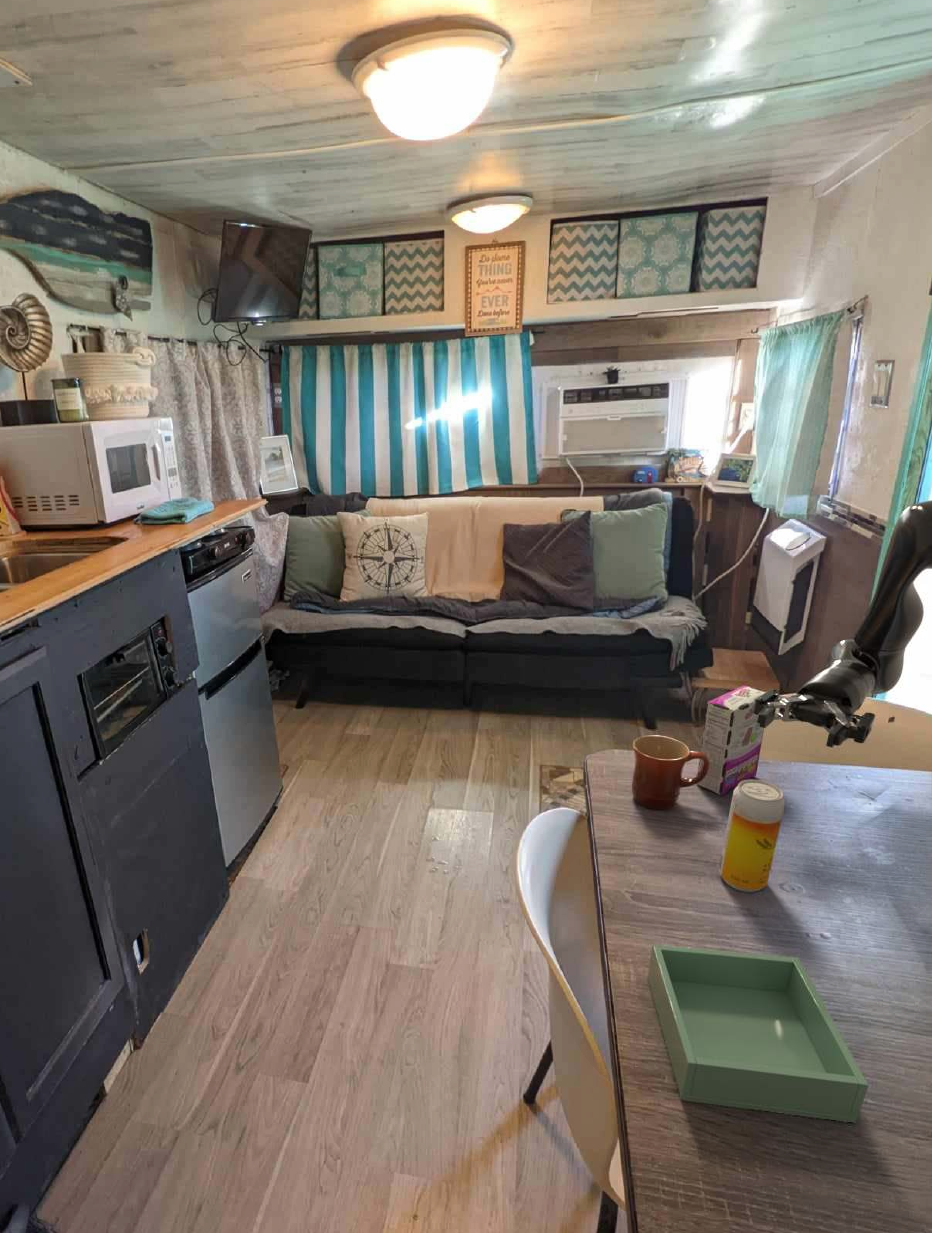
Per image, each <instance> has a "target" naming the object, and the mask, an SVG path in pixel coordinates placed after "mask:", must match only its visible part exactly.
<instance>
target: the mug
mask: <svg viewBox="0 0 932 1233" xmlns="http://www.w3.org/2000/svg"><path fill="white" fill-rule="evenodd" d="M632 749H633V753H634V768H633V772H632V773H633V774H632V781H631V792H632V797H633V799H634V800H635V801H636V802H637V803H638V804H640V805H641V806H644V807H646V808H649V809H652V810H653V809H654V810H666V809H669V808H672V807H674V806H675V805H676V804H677V802H678V800H679V796H680V794H681V789H682V788H689V787H692V786H695V785H697V783H699V782H701V781H702V780H703V779H704V777H705V776H706V774H707V772H708V769H709V760H708V758H707V756H706V755H705V754H703V753H701V751H693V750H691V749H690V747H689V746H688V745H687V744H685V743H684V742H683V741H680V740H678V739H676V738H673V737H668V736H664V735H654V734H653V735H652V734H651V735H643V736H639V737H637V738H635V739H634V740H633V742H632ZM695 759H696V760H697V759H698V760H700V759H702V760H703V763H702V767H701V769H700V771H699V773H698V772H697V774H696V775H694V776H692V777H686V778H685V777H682V775H683V771H684V767H685V765H686V764H687V763H688V762H690V761H692V760H695Z"/></svg>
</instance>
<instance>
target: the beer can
mask: <svg viewBox="0 0 932 1233" xmlns="http://www.w3.org/2000/svg"><path fill="white" fill-rule="evenodd" d="M732 792H733V793H732V798H731V803H730V808H729V814H728V819H727V825H726V829H725V835H724V840H723V846H722V850H721V854H720V855H721V856H720V861H719V866H718V872H719V873H718V874H719V875H720V876H721V878H722V880H723V881H724V882H725V883H726V884H727V885H728V886H729V887H731V888H733V889H736V890H738V891H741V892H747V893H755V892H758V891H760V890H762V889H764V888H765V887H767V885H768V882H769V878H770V873H771V869H772V865H773V860H774V856H775V851H776V846H777V842H778V838H779V833H780V828H781V824H782V819H783V815H784V810H785V806H786V800H785V797H784V792H783V790H782V789H781V788H779V787H778V786H777V785H775V784H773V783H771V782H768V781H765V780H760V779H749V780H744V781H741V782H740V783H739V784H738V786H737V787H735V788H733V791H732Z"/></svg>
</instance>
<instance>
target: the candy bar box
mask: <svg viewBox="0 0 932 1233" xmlns="http://www.w3.org/2000/svg"><path fill="white" fill-rule="evenodd" d="M765 692H766V691H764V690H760V689H758V688H754V687H752V686H747V685H742V686H740V687H738V688H736V689H734V690H731V691H728V692H727V693H725V694H722V695H720V696H718V697H716V698H714V699H711V700H709V701H707V704H706V709H705V718H704V726H703V732H702V740H701V748H700V752H701V753H703V754H705V755H706V756H707V758H708V760H709V769H708V772H707V774H706V776H705V777H704V779H703V780H702V781H701V782H699V783H697V784H696V785H697V786H698V787H701V788H702V789H705V790H707V791H710V792H711V793H714V794H716V795H719V796H723V795H724V794H726V793H728V792H730V791H732V790H734V789H735V788H736V787H737V786H738V784H739V783H740V782H741V781H744V780H752V778H754V777H756V776H757V772H758V765H759V760H760V755H761V749H762V743H763V737H764V732H765V728H762V727H759V725H760V724H759V723H757V720H758V715H756V714H754V708H755V703H756V698H758V697H759V696H761V695H762V694H764V693H765ZM702 763H703V760H702V759H699V761H698V768H697V774H698V773H699V771H700V769H701V767H702Z"/></svg>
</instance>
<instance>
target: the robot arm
mask: <svg viewBox="0 0 932 1233" xmlns="http://www.w3.org/2000/svg"><path fill="white" fill-rule="evenodd" d="M925 570H932V500H925V501H921V502H916V503H914V504H911V505H909V506H908V507H907V508H906V509H905V510H904V511H903V512H902V513H901V514H900V516H899V517H898V519H897V521H896V524H895V526H894V528H893V530H892V532H891V536H890V539H889V543H888V546H887V550H886V553H885V556H884V559H883V562H882V566H881V570H880V574H879V577H878V581H877V585H876V588H875V591H874V595H873V597H872V599H871V602H870V604H869V606H868V607H867V610H866V611H865V613H864V615H863V617H862V619H861V621H860V622H859V623H858V625H857V628H856V629H855V631H854V634H853V639H844V640H841V641H839V642H837V643H836V644H835V645H834V646H833V647H832V648H831V649H830V651H829V653H828V654H827V657H826V660H825V664H824V670H822V671H820V672H818V673H817V674H816V675H814V676H813V677H812V678H811V679H810V680H808V681H807V682H806V683H805V684H803V686H801V687H800V688H799V690H798V691H797V692H796V694H793V695H789V696H784V695H781V694H780V693H779V692H780V690H779V689H776V688H770V689H769V690H767V691H764V692H765V693H764V694H762V695H761V696H759V697H758V698H756V703H755V708H754V714H756V715H758V720H757V723H759V724H760V725H759V727H762V728H764V729H766V728H768V726H769V725H771V724H772V723H773V722H774V721H778V720H779V721H780V720H781V721H782V722H784V723H790V722H801V723H809V724H810V725H813V726H816V727H818V728H823V729H824V730H825V731H826V732H827V733H828V736H827V739H826V745H825V746H826V747H828V748H832V749H833V748H834V746H837V747H838V746H841V745H842V744H843V743H844V742H846V741H848V740H849V739H851V740H853V742H854V743H856V744H864V743H865V742H866V740H867V738H868V736H869V735H870V734H871V732H872V729H873V726H874V721H875V718H876V714H875V713H873V712H864V713H863V714H861V713H860V714H855V713H856V712H857V711H859V710H860V708H861V707H862V705H863V704H864V702H865V700H866V698H867V697H868V696H869V695H870V694H871V695H882V694H885V693H887V692H890V691H891V690H892V689H894V688H895V686H897V684H898V682H899V681H900V680H901V677H902V673H903V671H904V670H903V669H904V664H905V663H904V662H905V660H904V659H905V653H906V648H907V646H908V645H909V643H910V642H911V640H912V639H913V638H914V636H915V635H916V633H917V631H918V630H919V628H920V627H921V625H922V623H923V619H924V615H925V611H924V610H925V609H924V604H923V601H922V599H921V597H920V595H919V593H918V591H917V589H916V587H915V585H914V582H915V581H916V579H917V578H918V577H919V575H921V574H922V573H923V571H925ZM777 709H778V711H776V710H777ZM852 723H853V725H852Z"/></svg>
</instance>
